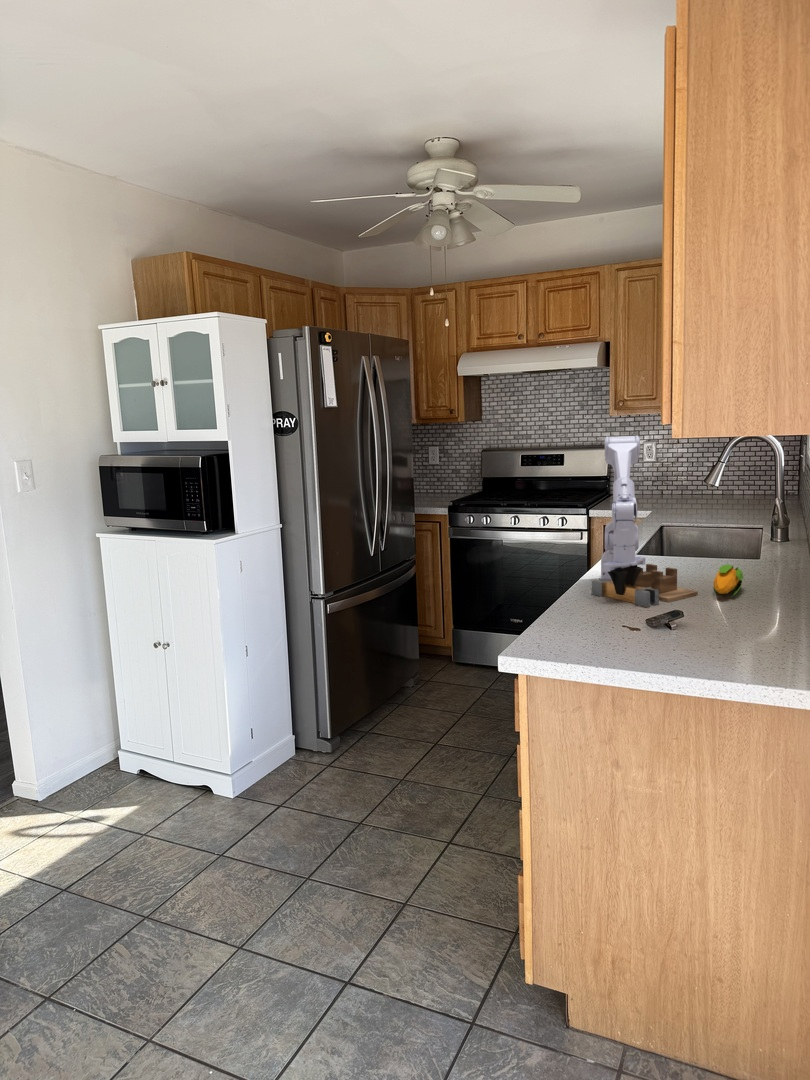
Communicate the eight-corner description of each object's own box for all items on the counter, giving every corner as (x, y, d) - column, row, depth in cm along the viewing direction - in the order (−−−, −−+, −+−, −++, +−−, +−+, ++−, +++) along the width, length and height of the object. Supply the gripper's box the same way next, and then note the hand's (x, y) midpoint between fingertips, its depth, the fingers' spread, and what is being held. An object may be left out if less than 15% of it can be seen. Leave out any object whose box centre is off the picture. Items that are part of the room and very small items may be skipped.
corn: (744, 560, 217) (736, 574, 200) (746, 586, 218) (737, 602, 201) (717, 560, 221) (706, 574, 204) (718, 586, 222) (707, 602, 205)
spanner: (591, 594, 217) (591, 580, 217) (604, 591, 220) (604, 577, 219) (645, 607, 201) (646, 592, 200) (658, 604, 203) (659, 589, 203)
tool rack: (612, 589, 222) (612, 565, 221) (641, 583, 228) (641, 560, 227) (668, 602, 205) (668, 576, 204) (697, 595, 211) (698, 570, 210)
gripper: (616, 550, 201) (616, 600, 203) (654, 543, 208) (653, 591, 210) (596, 546, 207) (597, 595, 209) (634, 540, 214) (634, 587, 216)
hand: (624, 593), depth 210 cm, fingers closed on spanner, 3 cm apart
